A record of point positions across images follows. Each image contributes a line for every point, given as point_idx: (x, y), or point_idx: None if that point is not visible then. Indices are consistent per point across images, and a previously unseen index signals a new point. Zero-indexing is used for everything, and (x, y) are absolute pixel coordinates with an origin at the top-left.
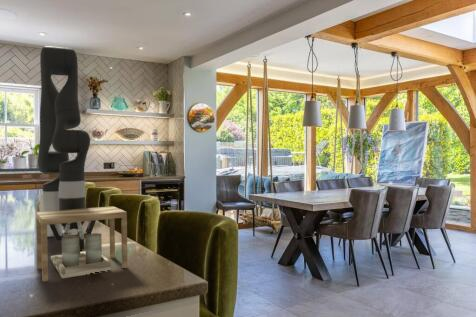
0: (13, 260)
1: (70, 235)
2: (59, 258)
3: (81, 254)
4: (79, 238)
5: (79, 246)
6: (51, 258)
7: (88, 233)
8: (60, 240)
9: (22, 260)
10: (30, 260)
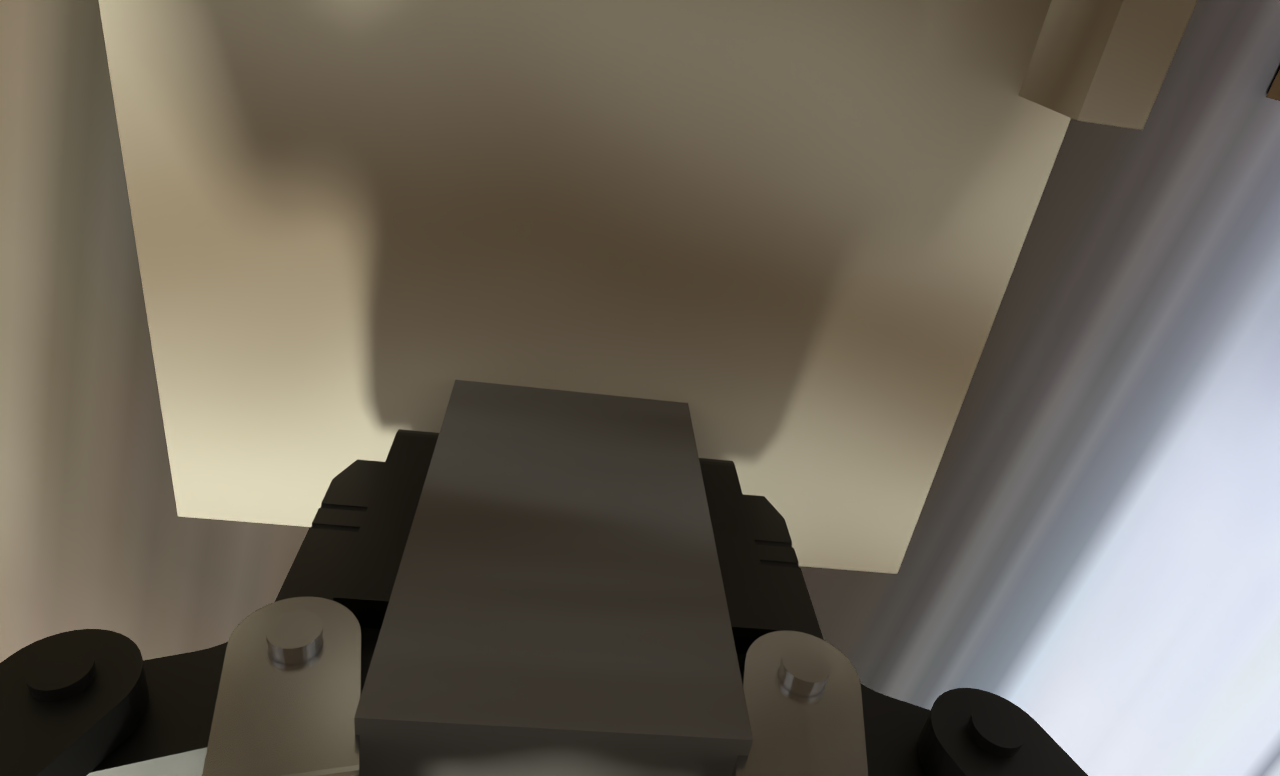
0: (1220, 739)
1: (651, 747)
2: (875, 319)
3: (433, 349)
4: (393, 618)
5: (437, 473)
6: (916, 484)
7: (36, 719)
8: (878, 696)
9: (1158, 686)
10: (1097, 634)
